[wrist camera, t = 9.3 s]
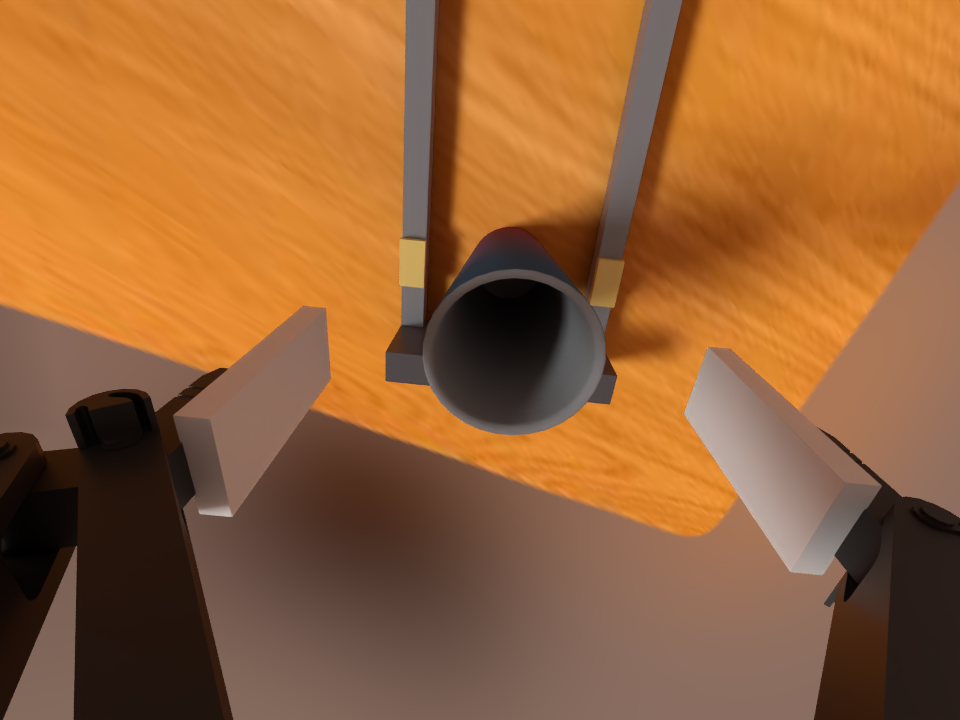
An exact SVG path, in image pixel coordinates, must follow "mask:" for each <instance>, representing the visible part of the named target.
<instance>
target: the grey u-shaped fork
mask: <svg viewBox="0 0 960 720" xmlns="http://www.w3.org/2000/svg"><path fill="white" fill-rule="evenodd" d="M681 4H682V0H645V5H644V9H643V14H642V19H641V24H640V29H639V34H638V39H637V44H636V49H635V54H634V59H633V63H632V68H631V73H630V78H629V83H628V88H627V93H626V98H625V103H624V108H623V113H622V117H621V122H620V127H619V132H618V137H617V142H616V147H615V152H614V157H613V162H612V167H611V171H610V176H609V181H608V186H607V191H606V196H605V201H604V206H603V211H602V216H601V221H600V225H599V230H598V235H597V240H596V245H595V250H594V255H593V260H592V265H591V270H590V275H589V279H588V284H587V289H586V294H585V298H586V300H587V301H588V302H589V304H590V305H591V306H592V307H593V309H594V310H595V312H596V314H597V316H598V318H599V320H600V322H601V324H602V327H603V331H604V335H605V330H606V326H607V322H608V318H609V313H610V309H611V308H614V307H615V303H616V299H617V294H618V290H619V286H620V282H621V277H622V273H623V269H624V265H625V262H624V261H623V260H622V258H623V253H624V249H625V245H626V240H627V236H628V232H629V227H630V223H631V219H632V215H633V210H634V206H635V202H636V197H637V193H638V189H639V185H640V180H641V176H642V172H643V167H644V163H645V159H646V155H647V150H648V146H649V142H650V137H651V133H652V129H653V124H654V120H655V116H656V112H657V107H658V103H659V99H660V94H661V90H662V86H663V82H664V77H665V73H666V69H667V64H668V60H669V56H670V51H671V47H672V43H673V39H674V34H675V30H676V26H677V21H678V17H679V13H680V9H681ZM438 22H439V0H406V50H405V116H404V182H403V237H402V238H400V270H399V286H402V315H401V327H400V328H399V330H398V332H397V334H396V335H395V337H394V339H393V340H392V342H391V344H390V346H389V347H388V349H387V351H386V381H389V382H399V383H409V384H418V385H428V386H430V384H429V382H428V379H427V377H426V375H425V369H424V364H423V340H424V336H425V332H426V328H427V325H428V323H429V321H430V320H426V313H427V289H428V265H429V240H430V216H431V192H432V168H433V143H434V119H435V95H436V71H437V46H438ZM616 379H617V375H616V373H615V371H614V369H613V367H612V365H611V363H610V361H609V359H608V357H607V355H606V361H605V366H604V370H603V375H602V377H601V379H600V382H599V384H598V386H597V388H596V390H595V392H594V393H593V395H592V396H591V397H590V399H589V400H588V401H587V402H592V403H601V404H610V402H611V398H612V394H613V390H614V386H615V383H616Z"/></svg>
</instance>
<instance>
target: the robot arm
mask: <svg viewBox="0 0 960 720" xmlns="http://www.w3.org/2000/svg"><path fill="white" fill-rule="evenodd" d="M330 379H331V375H330V361H329V347H328V333H327V320H326V308H317V307H307V306H303V307H302V308H300V309H299V310H298V311H297V312H296V313H294V314H293V315H292V316H291V317H290V318H289V319H287V320H286V321H285V322H284V323H283V324H281V325H280V326H279V327H278V328H277V329H275V330H274V331H273V332H272V333H271V334H269V335H268V336H267V337H266V338H265V339H263V340H262V341H261V342H260V343H259V344H258V345H256V346H255V347H254V348H253V349H252V350H250V351H249V352H248V353H247V354H246V355H244V356H243V357H242V358H241V359H240V360H238V361H237V362H236V363H235V364H234V365H232V366H231V367H230V368H229V369H227V368H219V369H217V370H214V371H212V372H210V373H207V374H205V375H203V376H201V377H200V378H199V379H197V380H196V381H195V382H193V383H192V384H191V385H190V386H189V388H186V389H185V390H183V391H182V392H181V393H179V394H178V397H175V398H173V399H172V400H171V401H169V402H168V403H167V404H166V405H164V406H163V407H162V408H160V409H159V410H158V411H157V412H154V408H153V405H152V402H151V398H150V396H149V395H148V394H147V393H146V392H144V391H140V390H137V389H120V390H112V391H106V392H103V393H99V394H95V395H92V396H90V397H87V398H85V399H83V400H81V401H79V402H77V403H76V404H75V405H73V406H72V407H70V408H69V410H68V412H67V413H66V415H65V416H66V418H67V421H68V423H69V426H70V428H71V431H72V433H73V436H74V438H75V441H76V443H77V446H78V448H73V449H64V450H53V451H43V450H42V448H41V446H40V444H39V441H38V439H37V438H36V437H35V436H34V435H33V434H28V433H23V432H15V433H3V434H0V720H3V718H4V716H5V713H6V711H7V708H8V706H9V704H10V701H11V699H12V697H13V694H14V692H15V689H16V687H17V685H18V682H19V680H20V678H21V675H22V673H23V670H24V668H25V666H26V663H27V661H28V659H29V656H30V654H31V652H32V649H33V647H34V644H35V642H36V639H37V637H38V634H39V633H40V630H41V628H42V625H43V623H44V621H45V618H46V616H47V613H48V611H49V609H50V606H51V604H52V602H53V599H54V597H55V594H56V592H57V589H58V587H59V585H60V583H61V580H62V578H63V576H64V573H65V571H66V568H67V566H68V564H69V561H70V559H71V557H72V554H73V552H74V549H75V547H76V546H77V587H76V632H75V633H76V634H75V681H74V720H233V716H232V713H231V708H230V704H229V700H228V695H227V691H226V687H225V682H224V678H223V674H222V670H221V666H220V661H219V657H218V653H217V649H216V645H215V640H214V636H213V632H212V628H211V623H210V619H209V615H208V611H207V607H206V603H205V598H204V594H203V589H202V585H201V581H200V577H199V572H198V568H197V564H196V560H195V556H194V551H193V547H192V543H191V539H190V534H189V530H188V526H187V522H186V518H185V514H184V511H183V507H184V506H185V505H186V504H187V503H188V502H189V500H190V499H191V498H192V497H193V496H194V495H195V499H196V503H197V506H198V510H199V514H208V515H217V516H228V517H232V516H233V515H234V514H235V512H236V511H237V510H238V508H239V507H240V505H241V504H242V502H243V501H244V500H245V498H246V497H247V495H248V494H249V493H250V491H251V490H252V488H253V487H254V486H255V484H256V483H257V481H258V480H259V479H260V477H261V476H262V474H263V473H264V472H265V470H266V469H267V467H268V466H269V465H270V463H271V462H272V460H273V459H274V457H275V456H276V455H277V453H278V452H279V450H280V449H281V448H282V446H283V445H284V444H285V442H286V441H287V439H288V438H289V437H290V435H291V434H292V432H293V431H294V429H295V428H296V427H297V425H298V424H299V422H300V421H301V420H302V418H303V417H304V416H305V414H306V413H307V411H308V410H309V409H310V407H311V406H312V404H313V403H314V402H315V400H316V399H317V397H318V396H319V395H320V393H321V392H322V390H323V389H324V388H325V386H326V385H327V383H328V382H329V381H330ZM684 415H685V416H686V418H687V419H688V421H689V422H690V424H691V425H692V427H693V428H694V430H695V431H696V433H697V434H698V436H699V437H700V439H701V440H702V442H703V443H704V445H705V446H706V448H707V449H708V450H709V452H710V453H711V455H712V456H713V458H714V459H715V461H716V462H717V464H718V465H719V467H720V468H721V470H722V471H723V473H724V474H725V476H726V477H727V479H728V480H729V482H730V483H731V485H732V486H733V488H734V489H735V491H736V492H737V494H738V495H739V497H740V498H741V500H742V501H743V502H744V504H745V505H746V507H747V508H748V510H749V511H750V513H751V514H752V516H753V517H754V519H755V520H756V522H757V523H758V525H759V526H760V528H761V529H762V531H763V532H764V534H765V535H766V537H767V538H768V540H769V541H770V543H771V544H772V546H773V547H774V549H775V550H776V551H777V553H778V554H779V556H780V557H781V559H782V560H783V562H784V563H785V565H786V566H787V568H788V569H789V571H790V572H795V573H805V574H815V575H823V574H824V573H825V571H826V569H827V568H828V566H829V565H830V564H831V562H832V560H833V559H834V557H836V558H837V559H838V560H839V562H840V563H841V564H842V565H843V567H844V568H845V569H846V570H847V571H846V573H845V574H844V576H843V577H842V579H841V580H840V581H839V583H838V584H837V586H836V587H835V589H834V590H833V592H832V593H831V594H830V596H829V597H828V599H827V600H826V601H825V603H824V604H825V605H826V606H828V607H830V606H831V605H832V604H833V602H835V606H834V611H833V617H832V623H831V628H830V634H829V639H828V645H827V650H826V656H825V661H824V667H823V672H822V678H821V683H820V689H819V694H818V700H817V705H816V711H815V717H814V720H960V518H959V517H957V516H956V515H954V514H952V513H951V512H949V511H947V510H945V509H943V508H941V507H939V506H937V505H935V504H933V503H929V502H926V501H924V500H921V499H917V498H911V497H902V496H900V495H899V494H898V493H897V492H896V491H895V490H894V489H892V488H891V487H890V486H889V485H888V484H887V483H886V482H884V481H883V480H882V479H881V478H880V477H879V476H878V475H877V474H876V473H874V472H873V471H872V470H871V469H870V468H869V467H868V466H866V465H865V464H862V461H861V460H860V459H859V458H857V457H856V456H855V455H854V454H852V453H850V450H848V449H847V448H846V447H845V446H844V445H843V444H841V442H839V441H838V440H837V439H836V438H835V437H833V436H831V435H830V434H828V433H826V432H824V431H823V430H821V429H819V428H818V427H816V426H815V425H814V424H813V423H812V422H810V421H809V420H808V419H807V418H806V417H805V416H804V415H803V414H802V413H801V412H800V411H798V410H797V409H796V408H795V407H794V406H793V405H792V404H791V403H790V402H788V401H787V400H786V399H785V398H784V397H783V396H782V395H781V394H780V393H778V392H777V391H776V390H775V389H774V388H773V387H772V386H771V385H770V384H769V383H767V382H766V381H765V380H764V379H763V378H762V377H761V376H760V375H759V374H757V373H756V372H755V371H754V370H753V369H752V368H751V367H750V366H749V365H748V364H746V363H745V362H744V361H743V360H742V359H741V358H740V357H739V356H738V355H736V354H735V353H734V352H733V351H732V350H731V349H724V348H714V347H708V349H707V352H706V354H705V357H704V360H703V363H702V366H701V368H700V371H699V374H698V377H697V379H696V382H695V385H694V388H693V390H692V393H691V396H690V399H689V402H688V404H687V407H686V410H685V413H684Z"/></svg>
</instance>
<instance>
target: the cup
mask: <svg viewBox="0 0 960 720" xmlns="http://www.w3.org/2000/svg"><path fill="white" fill-rule="evenodd" d="M605 361H606V340H605V336H604V331H603V327H602V324H601V322H600V320H599V318H598V316H597V314H596V312H595V310H594V309H593V307H592V306H591V305H590V304H589V302H588V301H587V300H586V298H585V297H584V296H583V295H582V293H581V292H580V291H579V290H578V289H577V287H576V286H575V285H574V284H573V283H572V281H571V280H570V279H569V278H568V277H567V275H566V274H565V273H564V272H563V271H562V269H561V268H560V267H559V266H558V265H557V263H556V262H555V261H554V260H553V259H552V257H551V256H550V255H549V254H548V253H547V251H546V250H545V249H544V248H543V247H542V245H541V244H540V243H539V242H538V241H537V239H536V238H535V237H533V236H532V235H531V234H530V233H528V232H526V231H524V230H521V229H518V228H511V227H508V228H501V229H497V230H494V231H493V232H491V233H489V234H487V235H486V236H485V237H484V238H483V239H482V240H481V241H480V242H479V244H478V245H477V247H476V248H475V250H474V251H473V253H472V254H471V256H470V257H469V259H468V260H467V262H466V263H465V265H464V266H463V268H462V270H461V271H460V273H459V274H458V276H457V277H456V279H455V280H454V282H453V283H452V285H451V286H450V288H449V289H448V291H447V293H446V294H445V296H444V297H443V299H442V300H441V302H440V303H439V305H438V306H437V308H436V309H435V311H434V313H433V315H432V317H431V319H430V321H429V323H428V325H427V328H426V332H425V336H424V340H423V364H424V369H425V375H426V377H427V379H428V382H429V384H430V387H431V389H432V391H433V392H434V393H435V395H436V396H437V398H438V399H439V401H440V402H441V403H442V404H443V405H444V406H445V407H446V408H447V409H448V410H449V411H450V412H451V413H452V414H453V415H454V416H456V417H457V418H459V419H460V420H462V421H463V422H465V423H467V424H469V425H471V426H473V427H475V428H478V429H480V430H484V431H487V432H491V433H495V434H504V435H523V434H531V433H535V432H540V431H544V430H547V429H549V428H551V427H554V426H556V425H558V424H560V423H562V422H564V421H565V420H567V419H568V418H570V417H571V416H573V415H574V414H575V413H576V412H577V411H579V410H580V409H581V408H582V407H583V406H584V405H585V404H586V403H587V401H588V400H589V399H590V397H591V396H592V395H593V393H594V392H595V390H596V388H597V386H598V384H599V382H600V379H601V377H602V375H603V370H604V366H605Z"/></svg>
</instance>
